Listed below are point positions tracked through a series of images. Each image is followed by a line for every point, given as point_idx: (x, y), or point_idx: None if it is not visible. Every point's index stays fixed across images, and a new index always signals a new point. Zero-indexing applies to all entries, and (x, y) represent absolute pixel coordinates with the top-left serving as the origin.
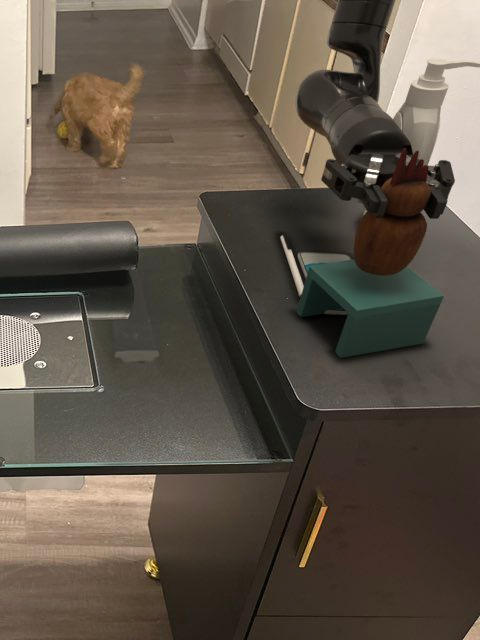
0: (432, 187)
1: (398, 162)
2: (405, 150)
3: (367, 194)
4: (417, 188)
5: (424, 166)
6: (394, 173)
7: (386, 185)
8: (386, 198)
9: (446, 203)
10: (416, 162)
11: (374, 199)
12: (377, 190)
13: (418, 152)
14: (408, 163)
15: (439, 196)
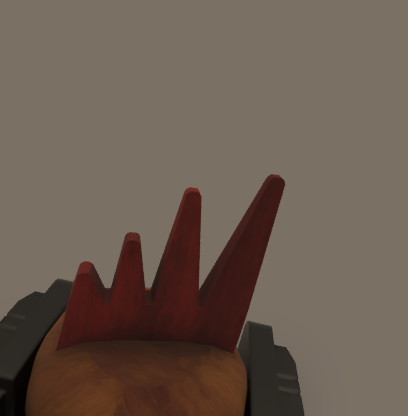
0: (4, 359)
1: (263, 251)
2: (269, 185)
3: (302, 406)
4: (148, 288)
5: (92, 277)
6: (246, 303)
7: (241, 369)
8: (250, 328)
9: (37, 293)
10: (168, 241)
11: (283, 357)
12: (270, 386)
13: (186, 192)
14: (197, 263)
15: (47, 300)
